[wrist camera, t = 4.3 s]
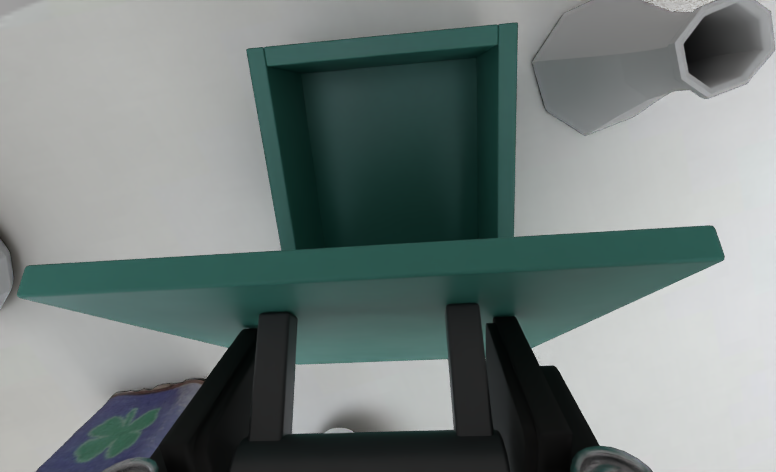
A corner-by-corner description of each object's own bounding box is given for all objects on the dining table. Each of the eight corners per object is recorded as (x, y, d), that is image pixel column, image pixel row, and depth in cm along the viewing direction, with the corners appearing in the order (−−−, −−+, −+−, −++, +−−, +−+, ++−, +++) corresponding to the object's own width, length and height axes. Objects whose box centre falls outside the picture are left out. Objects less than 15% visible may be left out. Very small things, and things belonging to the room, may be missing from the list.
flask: (620, -38, 22) (782, -140, 12) (688, 73, 23) (879, 56, 14) (508, 60, 24) (574, 36, 14) (578, 156, 25) (680, 193, 16)
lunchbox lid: (23, 263, 7) (-78, 587, 6) (715, 223, 6) (846, 593, 5) (297, 353, 22) (293, 447, 21) (512, 344, 22) (526, 441, 20)
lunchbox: (289, 61, 24) (245, 48, 18) (488, 42, 23) (518, 22, 17) (323, 298, 29) (299, 355, 23) (488, 289, 28) (512, 346, 22)
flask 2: (209, 374, 32) (115, 505, 22) (223, 404, 33) (138, 544, 23) (104, 392, 33) (-33, 525, 23) (119, 421, 34) (-5, 560, 24)
